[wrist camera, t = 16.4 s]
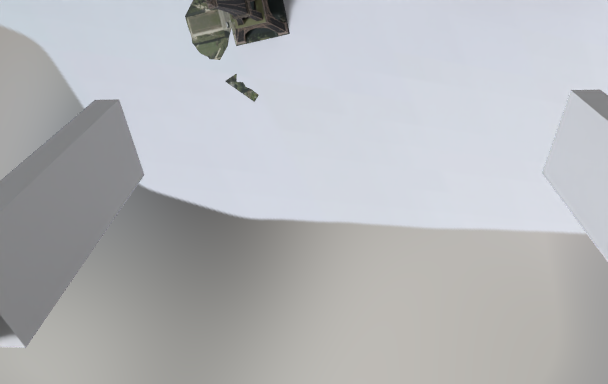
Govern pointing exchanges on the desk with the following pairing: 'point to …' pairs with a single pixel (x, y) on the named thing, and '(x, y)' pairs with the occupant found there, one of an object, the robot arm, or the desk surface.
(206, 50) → the eiffel tower figurine
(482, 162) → the desk surface
